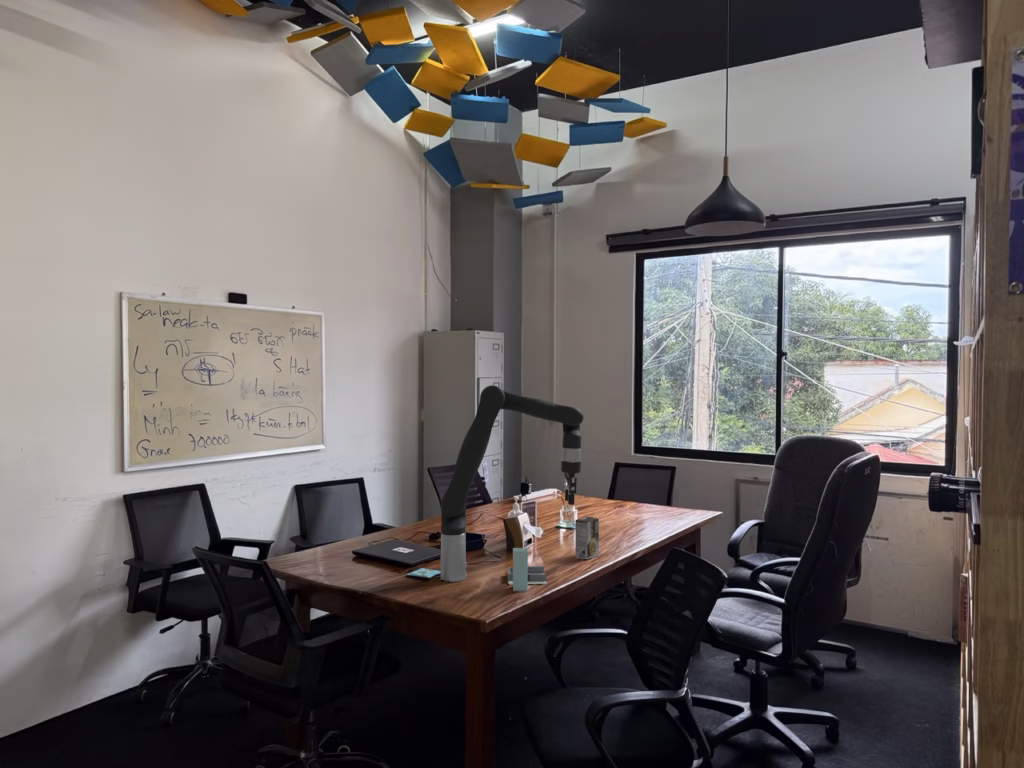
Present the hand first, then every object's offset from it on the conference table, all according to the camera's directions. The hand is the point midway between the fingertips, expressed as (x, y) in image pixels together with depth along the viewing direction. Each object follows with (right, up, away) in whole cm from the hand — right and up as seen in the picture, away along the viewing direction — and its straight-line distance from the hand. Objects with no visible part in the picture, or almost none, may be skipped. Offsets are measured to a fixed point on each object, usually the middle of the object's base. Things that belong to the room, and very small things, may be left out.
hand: (569, 502), depth 250 cm
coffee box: (+10, -28, +28) cm, 41 cm away
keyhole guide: (-16, -28, -2) cm, 33 cm away
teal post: (-19, -28, -14) cm, 37 cm away
